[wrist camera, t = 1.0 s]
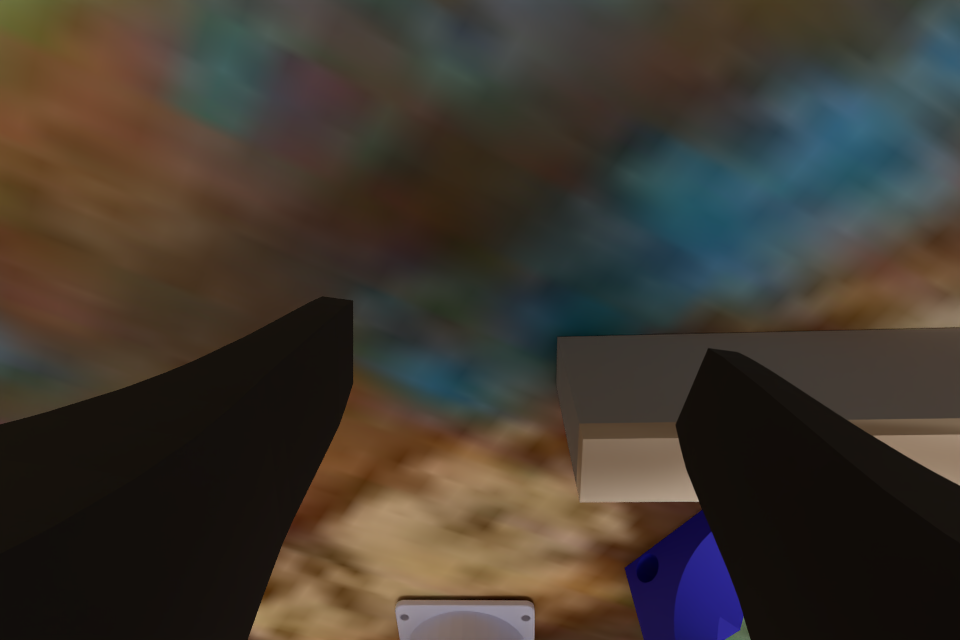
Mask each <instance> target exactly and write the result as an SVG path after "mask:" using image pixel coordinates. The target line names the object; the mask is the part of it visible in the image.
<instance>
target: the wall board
mask: <svg viewBox="0 0 960 640" xmlns="http://www.w3.org/2000/svg"><path fill="white" fill-rule="evenodd" d="M708 348H712V349H719V350H727V351H734V352H739V353H741V354H743V355H745V356H747V357H749V358H751V359H753V360H754V361H756V362H758V363H759V364H761V365H763V366H764V367H766V368H768V369H769V370H771V371H773V372H774V373H776V374H777V375H779V376H780V377H782V378H783V379H785V380H787V381H788V382H790V383H791V384H793V385H794V386H796V387H797V388H799V389H800V390H802V391H803V392H805V393H806V394H808V395H809V396H811V397H812V398H814V399H816V400H817V401H819V402H820V403H822V404H823V405H825V406H826V407H828V408H829V409H831V410H832V411H834V412H835V413H837V414H839V415H840V416H842V417H843V418H845V419H846V420H848V421H850V422H851V423H853V424H854V425H856V426H857V427H859V428H861V429H862V430H864V431H865V432H867V433H869V434H870V435H872V436H874V437H875V438H877V439H879V440H880V441H882V442H884V443H885V444H887V445H889V446H890V447H892V448H894V449H895V450H897V451H899V452H900V453H902V454H904V455H905V456H907V457H909V458H910V459H912V460H914V461H916V462H917V463H919V464H921V465H923V466H924V467H926V468H928V469H930V470H932V471H933V472H935V473H937V474H939V475H941V476H943V477H945V478H946V479H948V480H950V481H952V482H954V483H956V484H958V485H960V328H926V329H882V330H838V331H794V332H750V333H706V334H662V335H618V336H575V337H557V375H556V387H557V392H558V397H559V402H560V407H561V412H562V417H563V422H564V427H565V431H566V436H567V441H568V446H569V451H570V456H571V461H572V466H573V471H574V476H575V481H576V486H577V491H578V495H579V500H580V502H699V500H698V498H697V495H696V493H695V490H694V488H693V485H692V483H691V480H690V478H689V475H688V473H687V470H686V467H685V463H684V459H683V456H682V452H681V448H680V444H679V439H678V435H677V430H676V426H675V425H676V422H677V420H678V417H679V415H680V413H681V410H682V408H683V406H684V403H685V401H686V399H687V396H688V394H689V392H690V389H691V387H692V385H693V382H694V380H695V378H696V375H697V373H698V371H699V368H700V366H701V363H702V361H703V359H704V356H705V354H706V352H707V349H708Z"/></svg>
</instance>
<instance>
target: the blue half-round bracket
mask: <svg viewBox="0 0 960 640" xmlns="http://www.w3.org/2000/svg"><path fill="white" fill-rule="evenodd" d="M625 571H626V575H627V579H628V582H629V586H630V590H631V593H632V597H633V601H634V605H635V608H636V612H637V616H638V619H639V623H640V627H641V631H642V634H643V638H644V640H725V639H726V638H728V637H730V636H731V635H733V634H734V633H736V632H738V631H739V630H740V627H741V624H742V620H743V612H742V609H741V606H740V602H739V599H738V597H737V594H736V591H735V588H734V586H733V583H732V580H731V578H730V575H729V572H728V570H727V568H726V565H725V563H724V560H723V558H722V556H721V553H720V551H719V548H718V546H717V544H716V541H715V539H714V536H713V534H712V532H711V529H710V527H709V524H708V522H707V520H706V517H705V515H704V512H703V510H702V511H700V512H699V513H698V514H696V515H695V516H694V517H692V518H691V519H689V520H688V521H687V522H685V523H684V524H683V525H681V526H680V527H679V528H677V529H676V530H675V531H673V532H672V533H671V534H669V535H668V536H667V537H665V538H664V539H663V540H661V541H660V542H659V543H657V544H656V545H655V546H653V547H652V548H651V549H649V550H648V551H647V552H645V553H644V554H643V555H641V556H640V557H639V558H637V559H636V560H635V561H633V562H632V563H631V564H629V565H628V566H627V567H625Z"/></svg>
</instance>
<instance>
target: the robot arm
mask: <svg viewBox="0 0 960 640" xmlns="http://www.w3.org/2000/svg"><path fill="white" fill-rule="evenodd" d="M352 385H353V301H352V300H345V299H337V298H330V297H320V298H318V299H316V300H314V301H311V302H309V303H308V304H306V305H304V306H302V307H300V308H298V309H296V310H294V311H292V312H291V313H289V314H287V315H285V316H283V317H281V318H280V319H278V320H276V321H274V322H272V323H270V324H268V325H266V326H264V327H263V328H261V329H259V330H257V331H255V332H253V333H251V334H249V335H247V336H245V337H243V338H241V339H239V340H237V341H235V342H233V343H231V344H229V345H226V346H224V347H222V348H220V349H218V350H216V351H214V352H212V353H210V354H207V355H205V356H203V357H201V358H199V359H197V360H195V361H192V362H190V363H188V364H185V365H183V366H181V367H178V368H176V369H173V370H171V371H168V372H166V373H163V374H160V375H158V376H155V377H152V378H150V379H147V380H144V381H142V382H139V383H136V384H134V385H131V386H128V387H125V388H122V389H120V390H117V391H113V392H110V393H107V394H104V395H101V396H97V397H94V398H91V399H88V400H84V401H81V402H78V403H75V404H71V405H68V406H65V407H62V408H58V409H55V410H52V411H49V412H45V413H42V414H38V415H35V416H31V417H27V418H23V419H20V420H16V421H12V422H8V423H4V424H0V640H248V637H249V634H250V631H251V629H252V626H253V623H254V620H255V617H256V614H257V611H258V609H259V606H260V603H261V600H262V597H263V595H264V592H265V589H266V587H267V584H268V581H269V579H270V576H271V573H272V570H273V568H274V565H275V562H276V560H277V557H278V554H279V552H280V549H281V546H282V544H283V541H284V539H285V537H286V535H287V532H288V530H289V528H290V526H291V523H292V521H293V519H294V517H295V515H296V513H297V511H298V509H299V507H300V505H301V503H302V501H303V499H304V497H305V495H306V492H307V490H308V488H309V486H310V484H311V482H312V480H313V478H314V476H315V474H316V472H317V470H318V468H319V466H320V464H321V462H322V460H323V458H324V456H325V454H326V452H327V450H328V448H329V446H330V443H331V441H332V439H333V437H334V435H335V433H336V431H337V429H338V427H339V424H340V422H341V419H342V416H343V413H344V410H345V407H346V404H347V401H348V398H349V394H350V391H351V388H352ZM675 426H676V430H677V435H678V439H679V444H680V448H681V452H682V456H683V459H684V463H685V467H686V470H687V473H688V475H689V478H690V480H691V483H692V485H693V488H694V490H695V493H696V495H697V498H698V500H699V503H700V505H701V508H702V510H703V512H704V515H705V517H706V520H707V522H708V524H709V527H710V529H711V532H712V534H713V536H714V539H715V541H716V544H717V546H718V548H719V551H720V553H721V556H722V558H723V560H724V563H725V565H726V568H727V570H728V572H729V575H730V578H731V580H732V583H733V586H734V588H735V591H736V594H737V597H738V599H739V602H740V606H741V609H742V612H743V616H744V619H745V622H746V626H747V629H748V632H749V636H750V639H751V640H960V485H958V484H956V483H954V482H952V481H950V480H948V479H946V478H945V477H943V476H941V475H939V474H937V473H935V472H933V471H932V470H930V469H928V468H926V467H924V466H923V465H921V464H919V463H917V462H916V461H914V460H912V459H910V458H909V457H907V456H905V455H904V454H902V453H900V452H899V451H897V450H895V449H894V448H892V447H890V446H889V445H887V444H885V443H884V442H882V441H880V440H879V439H877V438H875V437H874V436H872V435H870V434H869V433H867V432H865V431H864V430H862V429H861V428H859V427H857V426H856V425H854V424H853V423H851V422H850V421H848V420H846V419H845V418H843V417H842V416H840V415H839V414H837V413H835V412H834V411H832V410H831V409H829V408H828V407H826V406H825V405H823V404H822V403H820V402H819V401H817V400H816V399H814V398H812V397H811V396H809V395H808V394H806V393H805V392H803V391H802V390H800V389H799V388H797V387H796V386H794V385H793V384H791V383H790V382H788V381H787V380H785V379H783V378H782V377H780V376H779V375H777V374H776V373H774V372H773V371H771V370H769V369H768V368H766V367H764V366H763V365H761V364H759V363H758V362H756V361H754V360H753V359H751V358H749V357H747V356H745V355H743V354H741V353H739V352H734V351H727V350H719V349H712V348H708V349H707V352H706V354H705V356H704V359H703V361H702V363H701V366H700V368H699V371H698V373H697V375H696V378H695V380H694V382H693V385H692V387H691V389H690V392H689V394H688V396H687V399H686V401H685V403H684V406H683V408H682V410H681V413H680V415H679V417H678V420H677V422H676V425H675ZM395 613H396V619H397V625H398V631H399V637H400V640H535V610H534V604H533V603H532V602H530V601H527V600H401V601H399V602H397V604H396V608H395Z"/></svg>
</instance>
